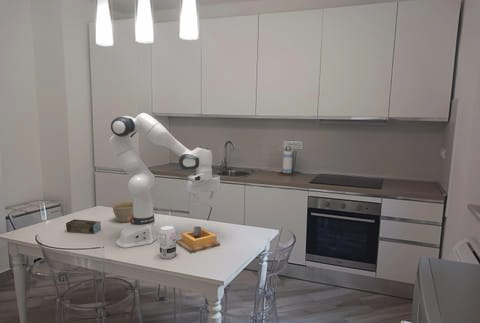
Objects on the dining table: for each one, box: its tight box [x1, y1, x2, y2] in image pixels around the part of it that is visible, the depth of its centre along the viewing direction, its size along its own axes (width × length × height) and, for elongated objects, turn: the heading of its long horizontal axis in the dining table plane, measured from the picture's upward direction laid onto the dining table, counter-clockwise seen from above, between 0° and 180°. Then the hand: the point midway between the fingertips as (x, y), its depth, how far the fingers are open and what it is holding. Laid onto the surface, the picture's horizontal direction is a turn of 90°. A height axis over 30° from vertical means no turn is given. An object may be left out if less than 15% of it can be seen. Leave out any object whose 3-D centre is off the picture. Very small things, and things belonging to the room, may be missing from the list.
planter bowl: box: [112, 201, 133, 223], centre depth 233 cm, size 16×16×11 cm
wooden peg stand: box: [176, 226, 221, 254], centre depth 190 cm, size 18×18×10 cm
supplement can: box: [158, 224, 177, 260], centre depth 174 cm, size 8×8×15 cm
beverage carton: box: [65, 218, 102, 235], centre depth 212 cm, size 8×19×7 cm, turn 79°
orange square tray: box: [181, 228, 217, 248], centre depth 190 cm, size 14×14×4 cm
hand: (203, 199), depth 193 cm, fingers open, 8 cm apart
